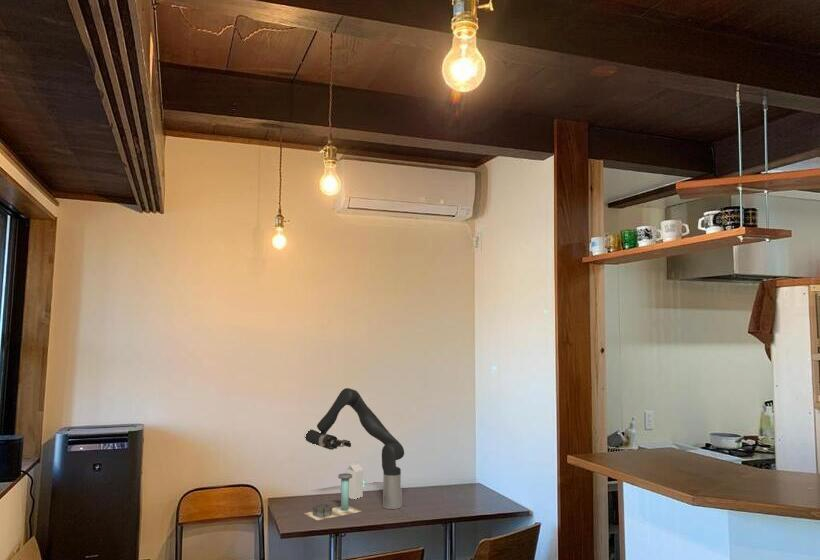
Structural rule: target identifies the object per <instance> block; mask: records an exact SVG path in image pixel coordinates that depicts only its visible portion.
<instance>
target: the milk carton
mask: <svg viewBox="0 0 820 560" xmlns="http://www.w3.org/2000/svg"><path fill="white" fill-rule="evenodd" d="M344 473H347V474H352V478H350V479H349V498H350V499H349V500H354V499H355V500H358V499H360V497H361V498H363V493H364V492H363V491H364V488H363V487H364V486H363V485H364V469H363V467H362V466H361V465H360V464H359V461H357V462H353V463H350V465H349V466H348V467H347V469H345V471H344ZM357 498H358V499H357Z"/></svg>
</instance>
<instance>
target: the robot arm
mask: <svg viewBox="0 0 820 560" xmlns="http://www.w3.org/2000/svg"><path fill="white" fill-rule="evenodd" d="M345 406H349V407H350V408H352V410H354V412H355V413H356V414H357V416H358V419H359V422H360V424H361V426H362V428H364V430H365V431H366V433H368V434H369V435H370V436H371V437H374V439H376V440H378V441H380V442H381V443H382V444H383V446H382V449H381V468H382V470H383V473H382V474H383V478H382V479H383V487H382V488H383V489H382V491H383V492H382V508H384V509H386V510H397V509H400V508H402V506H403V489H402V488H401V485H402V484H401V477H402V476H401V475H402V471H401V468H400V467H399V466H397V461H399V460H401V459H402V458H403V457H404V456H405V449H404V447H403V445H402V443H400V442H399V440H397V439H396V437H394V436H393V435H392V434H391V432H390V431H389V430H388V429H387V428H386V427H385V425H384V424H383V423H382V422H381V420H380V419H379V418H378V416H377V415H376V413H374V412H373V410H371V408H370V407H368V405H367V404H366V403H365V401H364V399H363V397H362V396H361V395H360V393H359V392H358V390H356V389H354V388H353V389H352V388H348V387H347V388H343V389H342V390H341V391H340V393H339V394H338V396H337V397H336V399H335V401H334V403H332V405H331V406H330V408H329V410H328V411H327V412H326V414H325V415H323V417H322V418H321V419H320V421H319V422H318V423H317V425H316V428H317V429H318V430H319V431H317V430H314V429H309V430H310V431H308V430H307V431H308V433H307V434H306V437H305V436H304V439H305V438H306V439H305V441H306V442H308V443H309V444H311V443H312V444H311V445H313V444H316V445H318V446H317V447H322V448H324V449H327V450H330V451H331V450H332V451H333V450H334V449H335V450H336V449H338V448H343V447H348V448H351V447H352V443H351V440H348V439H338V438H337V436H335V435H332V434H330V433H329V434H328V431H329V430H330V429H331V428H332V427H333V425H334V424H335V423H336V421H337V419H338V416H339V414H340V412H341V411H342V410H343V408H344V407H345ZM320 431H321V433H319V432H320Z"/></svg>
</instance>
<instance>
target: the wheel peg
mask: <svg viewBox="0 0 820 560" xmlns="http://www.w3.org/2000/svg"><path fill="white" fill-rule="evenodd" d="M350 478H352V474H347V473H345V472H344V473H339V474H338V479H340V481H341V483H340V484H341V485H340V506H341V510H344V511H345V510H349V506H350V505H349V504H350V502H349V501H350V499H349V479H350Z"/></svg>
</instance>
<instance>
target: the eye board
mask: <svg viewBox="0 0 820 560" xmlns="http://www.w3.org/2000/svg"><path fill="white" fill-rule="evenodd" d="M360 512H363V511H362V510H360V509H357V508H355V507H353V506H351V505H349V510H345V511H344V510H341V505H340V506H337V507H333V505H332V504H329V503H317V504H316V503H315V504H314V505H313V506H312V511H309V512H303V514H304V515H306V516H307V517H308V518H309V517H310V518H311V519H313V520H315V521H320V520H325V519H331V518H335V517H341V516H345V515H350V514H355V513H360Z"/></svg>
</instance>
